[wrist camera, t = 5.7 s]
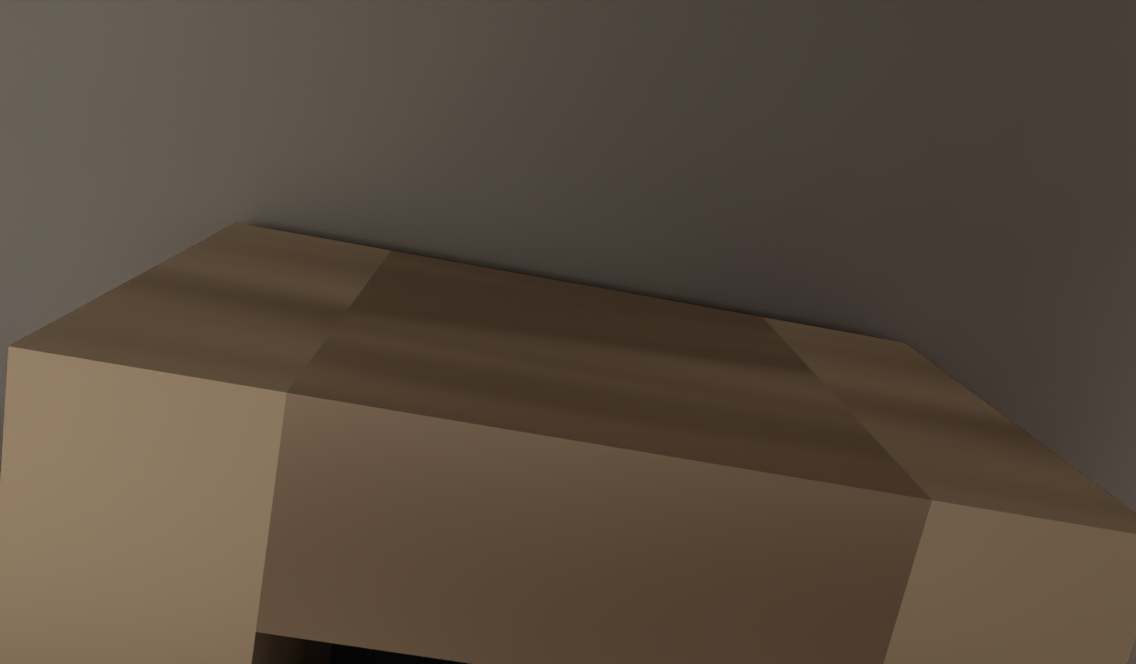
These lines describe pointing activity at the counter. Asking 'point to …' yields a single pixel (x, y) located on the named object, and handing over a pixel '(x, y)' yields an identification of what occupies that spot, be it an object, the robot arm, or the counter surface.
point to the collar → (520, 481)
